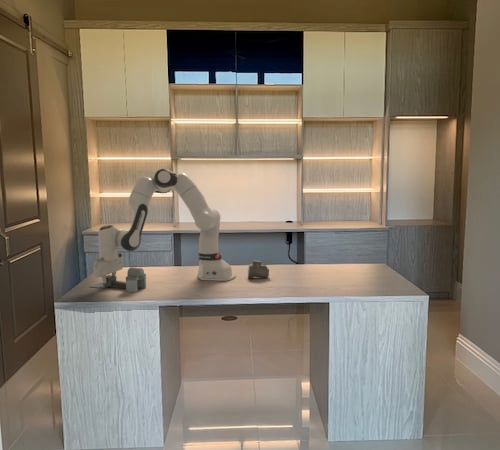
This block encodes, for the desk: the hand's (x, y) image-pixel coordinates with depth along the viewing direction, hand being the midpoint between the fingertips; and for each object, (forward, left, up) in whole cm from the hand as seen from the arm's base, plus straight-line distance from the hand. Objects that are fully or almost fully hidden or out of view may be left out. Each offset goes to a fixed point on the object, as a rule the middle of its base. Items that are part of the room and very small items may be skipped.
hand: (109, 281), depth 236 cm
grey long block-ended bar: (-6, 0, -2) cm, 7 cm away
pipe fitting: (-69, -43, -3) cm, 82 cm away
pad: (+5, 0, -3) cm, 6 cm away
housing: (-17, 0, -3) cm, 17 cm away
